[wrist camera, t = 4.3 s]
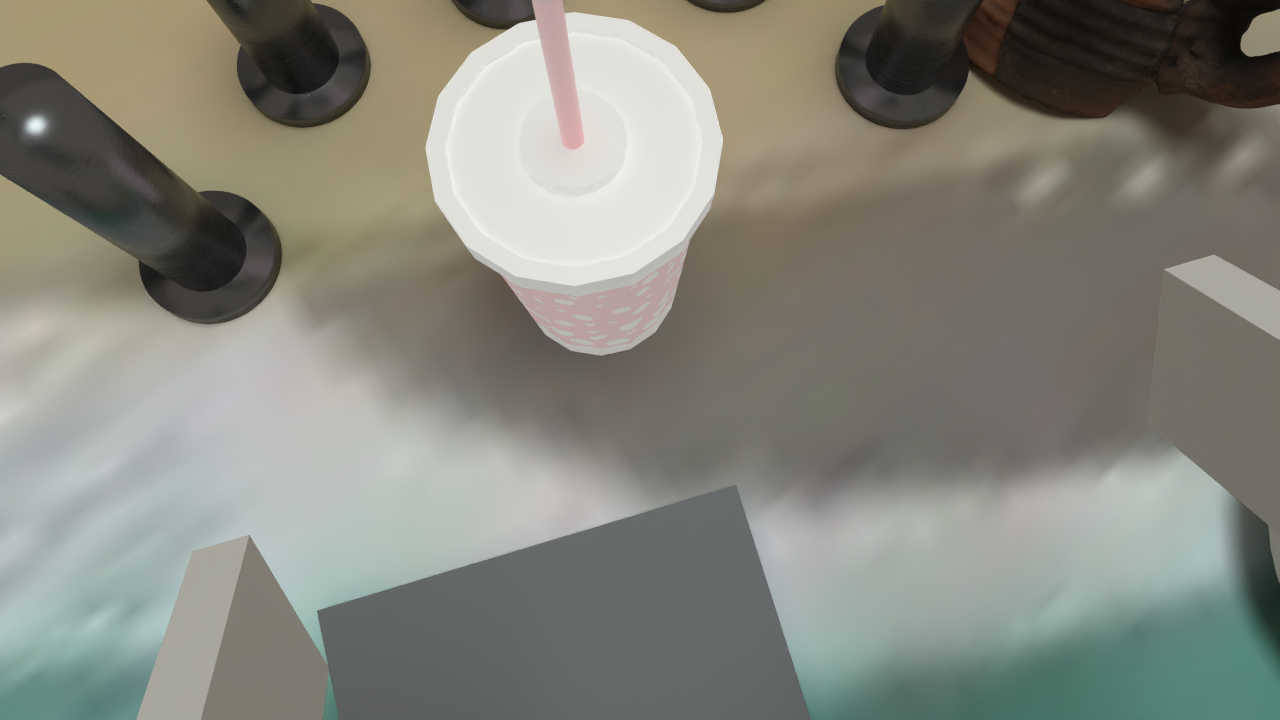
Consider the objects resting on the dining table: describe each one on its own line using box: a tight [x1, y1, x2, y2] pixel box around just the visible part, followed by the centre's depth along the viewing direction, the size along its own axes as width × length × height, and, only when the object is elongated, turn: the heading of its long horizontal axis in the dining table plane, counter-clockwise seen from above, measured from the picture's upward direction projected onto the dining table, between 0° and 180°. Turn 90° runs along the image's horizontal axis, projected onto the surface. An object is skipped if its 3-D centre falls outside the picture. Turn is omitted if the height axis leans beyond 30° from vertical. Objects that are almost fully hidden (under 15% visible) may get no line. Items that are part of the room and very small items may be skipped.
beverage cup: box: [425, 0, 723, 356], centre depth 21 cm, size 6×6×14 cm
